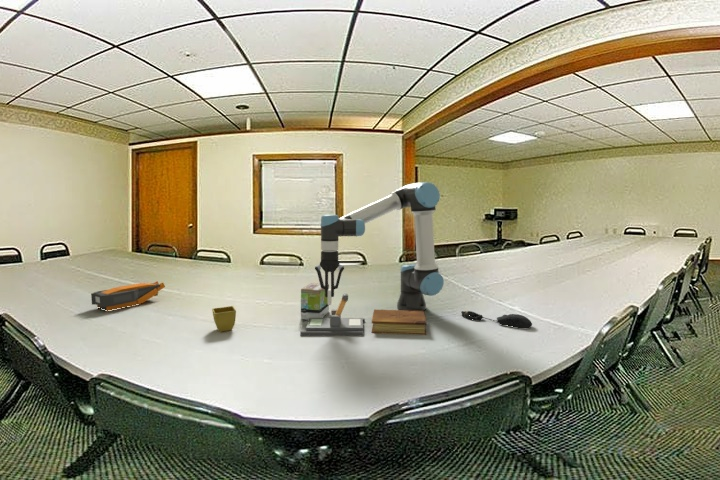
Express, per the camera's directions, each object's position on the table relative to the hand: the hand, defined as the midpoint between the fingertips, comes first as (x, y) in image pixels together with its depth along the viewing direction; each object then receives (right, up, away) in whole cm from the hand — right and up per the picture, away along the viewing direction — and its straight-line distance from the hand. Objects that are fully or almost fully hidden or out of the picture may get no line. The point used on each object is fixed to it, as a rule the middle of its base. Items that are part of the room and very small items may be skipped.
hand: (329, 304), depth 164 cm
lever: (+3, -7, +1) cm, 8 cm away
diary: (+31, -11, +3) cm, 33 cm away
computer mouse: (+76, -11, +11) cm, 78 cm away
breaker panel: (+3, -11, +1) cm, 11 cm away
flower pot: (-45, -11, -1) cm, 47 cm away
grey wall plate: (+3, -11, +1) cm, 11 cm away
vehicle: (-111, -7, +40) cm, 118 cm away
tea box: (-9, -9, +20) cm, 24 cm away
